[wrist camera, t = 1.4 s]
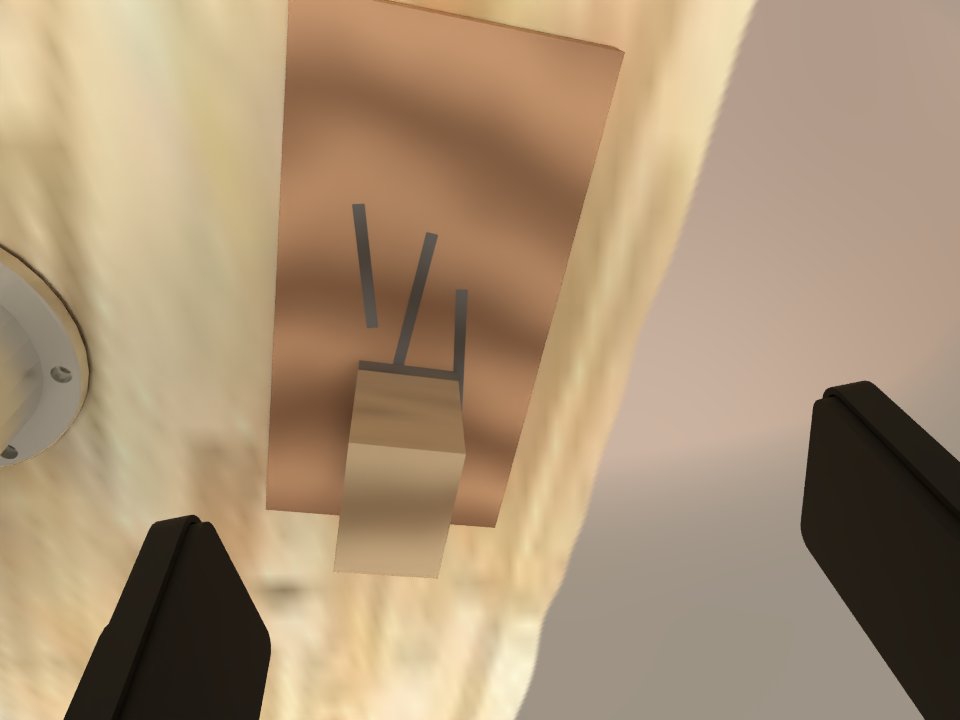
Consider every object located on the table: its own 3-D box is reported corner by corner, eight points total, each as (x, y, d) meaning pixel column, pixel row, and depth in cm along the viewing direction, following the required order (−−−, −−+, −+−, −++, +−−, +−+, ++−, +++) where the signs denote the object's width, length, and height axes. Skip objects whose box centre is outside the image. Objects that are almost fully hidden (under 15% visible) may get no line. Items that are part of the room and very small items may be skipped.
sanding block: (433, 486, 35) (437, 578, 30) (345, 478, 34) (333, 571, 29) (457, 371, 32) (465, 454, 27) (359, 360, 31) (348, 442, 26)
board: (492, 508, 38) (494, 528, 37) (271, 489, 36) (265, 509, 35) (614, 47, 26) (624, 52, 25) (296, -19, 24) (289, -17, 23)
